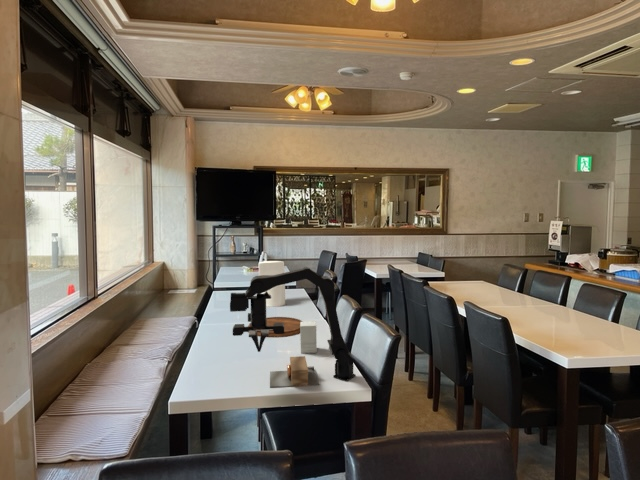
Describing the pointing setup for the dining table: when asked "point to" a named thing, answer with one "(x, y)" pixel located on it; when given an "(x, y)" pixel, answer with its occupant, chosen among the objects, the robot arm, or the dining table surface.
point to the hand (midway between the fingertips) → (259, 351)
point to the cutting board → (289, 326)
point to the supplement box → (308, 337)
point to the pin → (310, 370)
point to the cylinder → (278, 291)
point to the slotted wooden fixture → (294, 375)
